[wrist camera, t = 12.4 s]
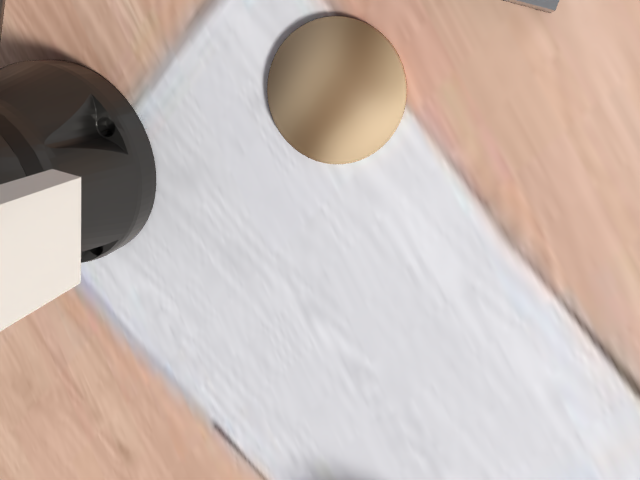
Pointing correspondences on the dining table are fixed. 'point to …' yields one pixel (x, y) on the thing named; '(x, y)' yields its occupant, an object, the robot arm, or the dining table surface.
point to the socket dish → (537, 4)
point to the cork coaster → (336, 90)
